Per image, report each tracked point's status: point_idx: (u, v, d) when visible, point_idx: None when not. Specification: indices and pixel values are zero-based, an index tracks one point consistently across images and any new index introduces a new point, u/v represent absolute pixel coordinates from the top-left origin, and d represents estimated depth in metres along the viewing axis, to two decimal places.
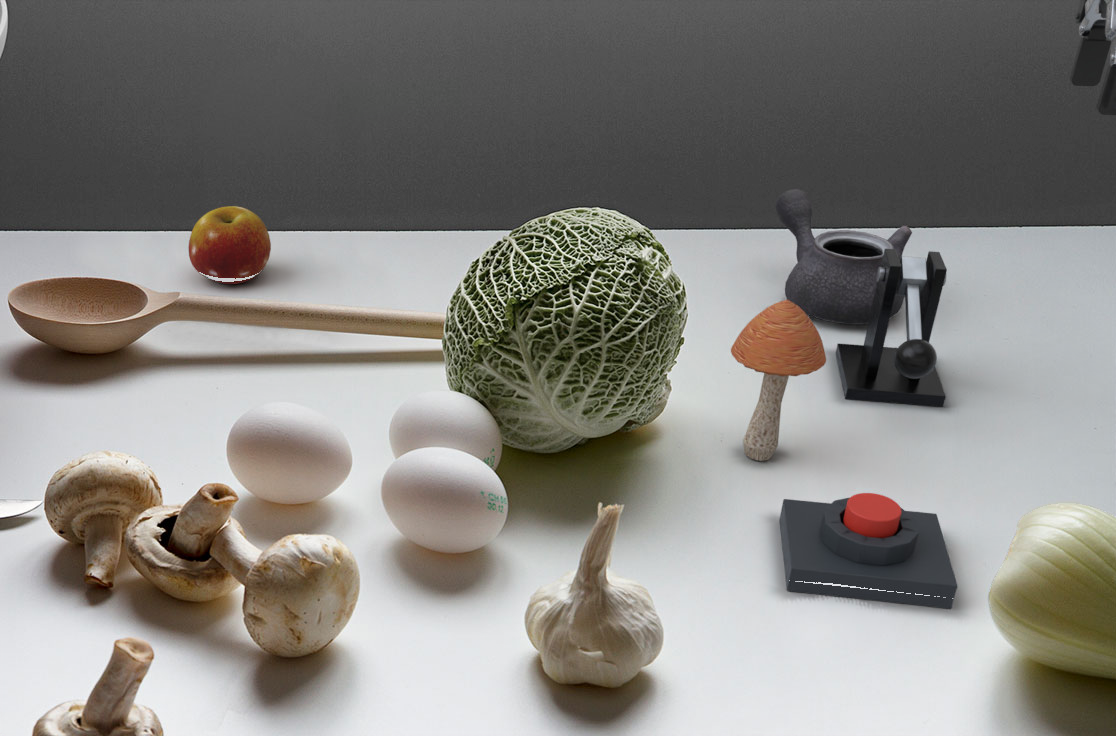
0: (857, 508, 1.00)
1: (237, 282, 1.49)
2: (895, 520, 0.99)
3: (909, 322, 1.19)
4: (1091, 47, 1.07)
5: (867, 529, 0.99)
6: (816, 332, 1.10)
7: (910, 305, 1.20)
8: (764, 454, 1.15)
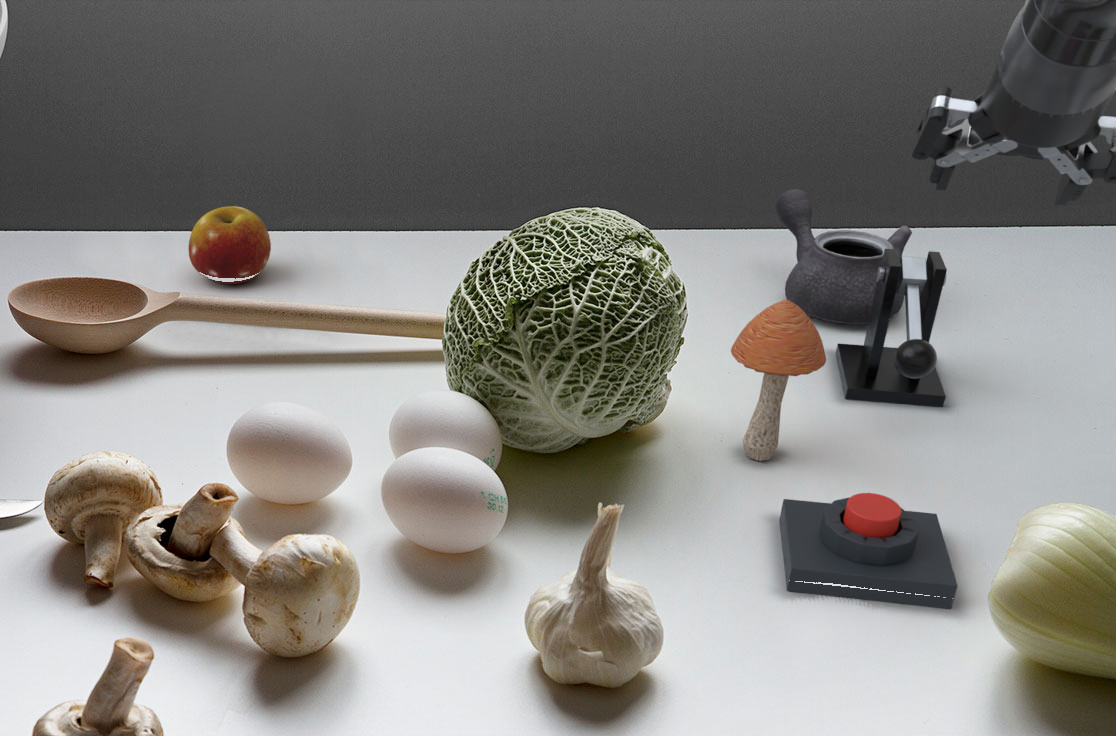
0: (857, 508, 1.00)
1: (237, 282, 1.49)
2: (895, 520, 0.99)
3: (909, 322, 1.19)
4: None
5: (867, 529, 0.99)
6: (816, 332, 1.10)
7: (910, 305, 1.20)
8: (764, 454, 1.15)
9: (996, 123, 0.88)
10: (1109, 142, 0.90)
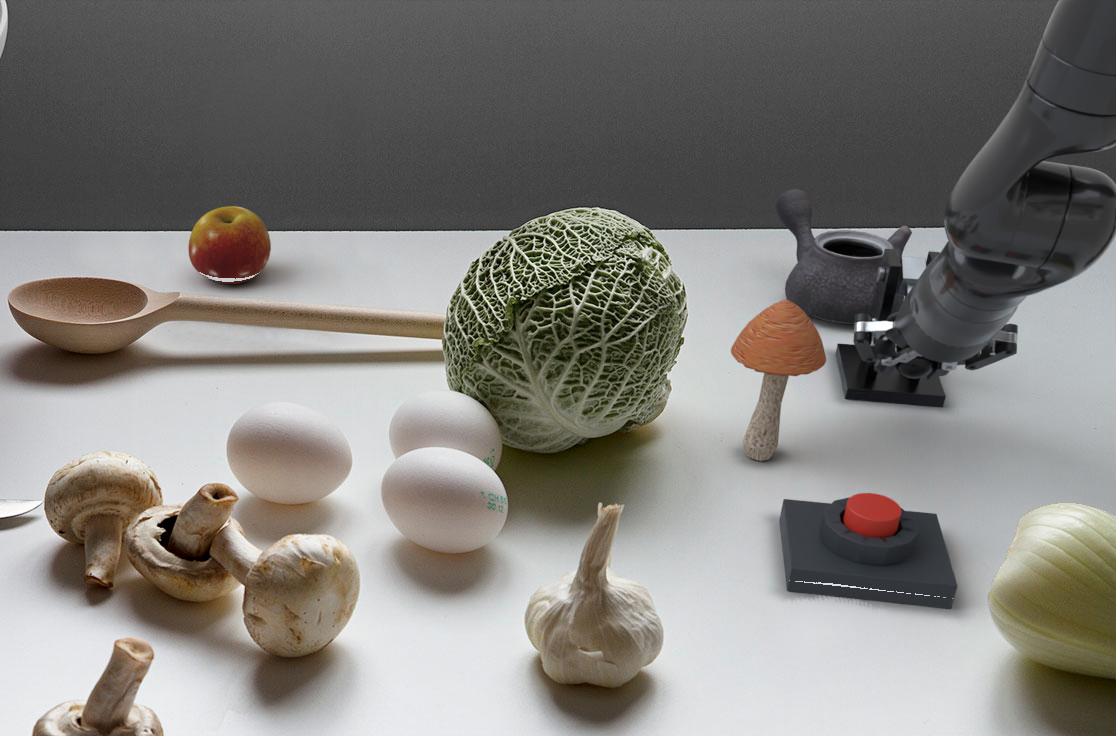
0: (857, 508, 1.00)
1: (237, 282, 1.49)
2: (895, 520, 0.99)
3: None
4: None
5: (867, 529, 0.99)
6: (816, 332, 1.10)
7: None
8: (764, 454, 1.15)
9: (911, 344, 1.08)
10: (987, 346, 1.11)
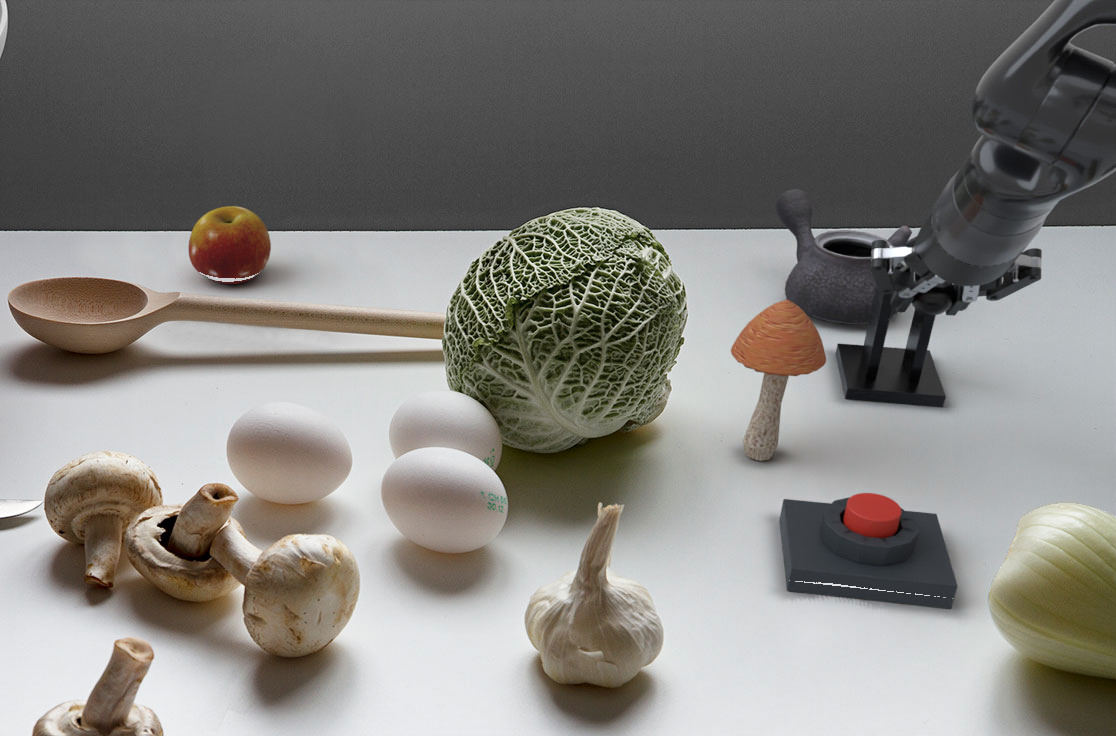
0: (857, 508, 1.00)
1: (237, 282, 1.49)
2: (895, 520, 0.99)
3: None
4: None
5: (867, 529, 0.99)
6: (816, 332, 1.10)
7: None
8: (764, 454, 1.15)
9: (932, 268, 1.03)
10: (1010, 272, 1.07)
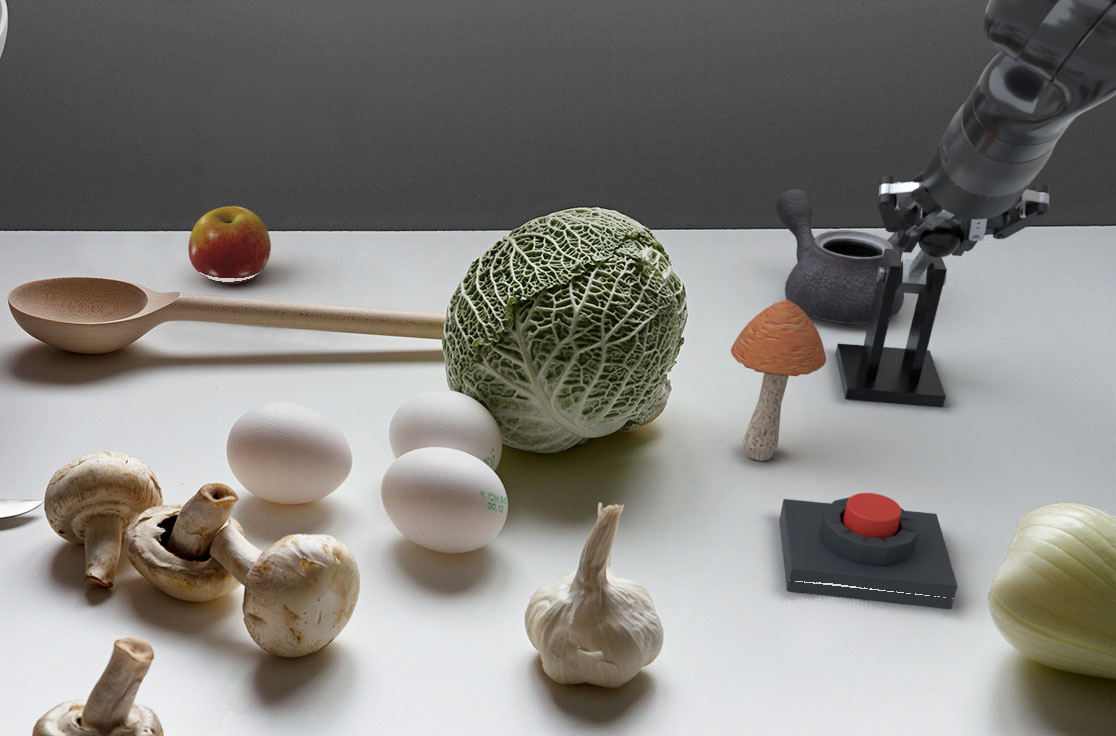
0: (857, 508, 1.00)
1: (237, 282, 1.49)
2: (895, 520, 0.99)
3: None
4: None
5: (867, 529, 0.99)
6: (816, 332, 1.10)
7: None
8: (764, 454, 1.15)
9: (939, 201, 1.03)
10: (1017, 209, 1.07)
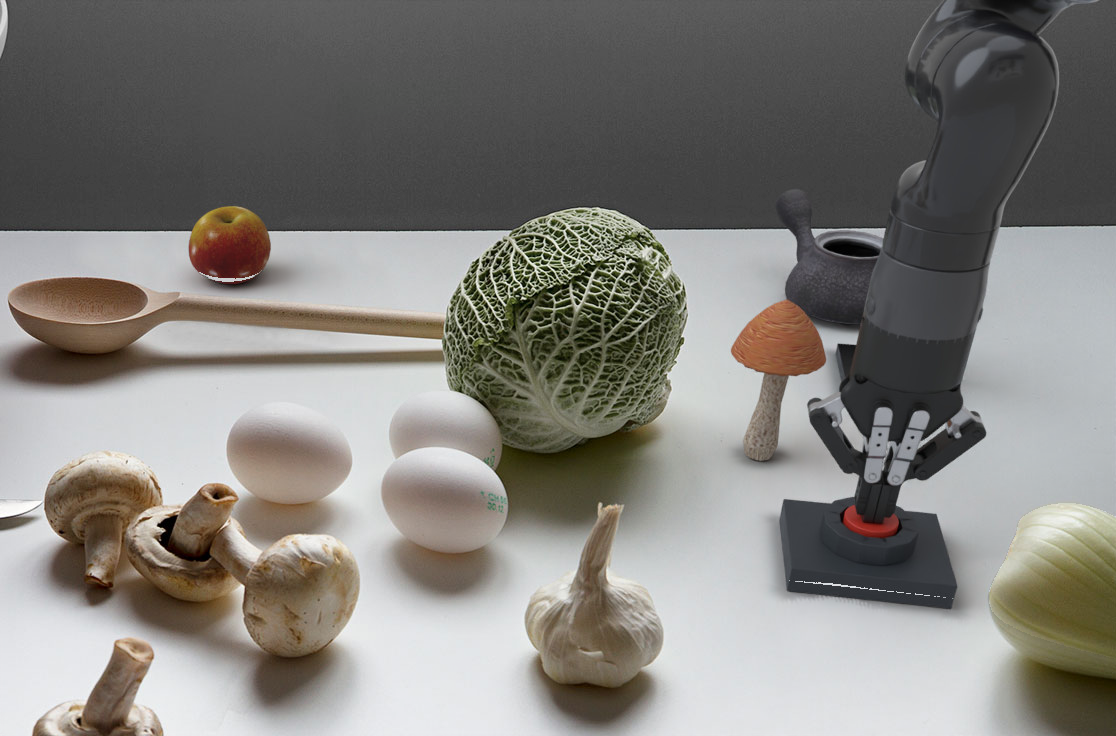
0: (855, 519, 1.00)
1: (237, 282, 1.49)
2: (892, 531, 0.99)
3: None
4: None
5: None
6: (816, 332, 1.10)
7: None
8: (764, 454, 1.15)
9: (873, 374, 0.92)
10: (949, 430, 0.95)
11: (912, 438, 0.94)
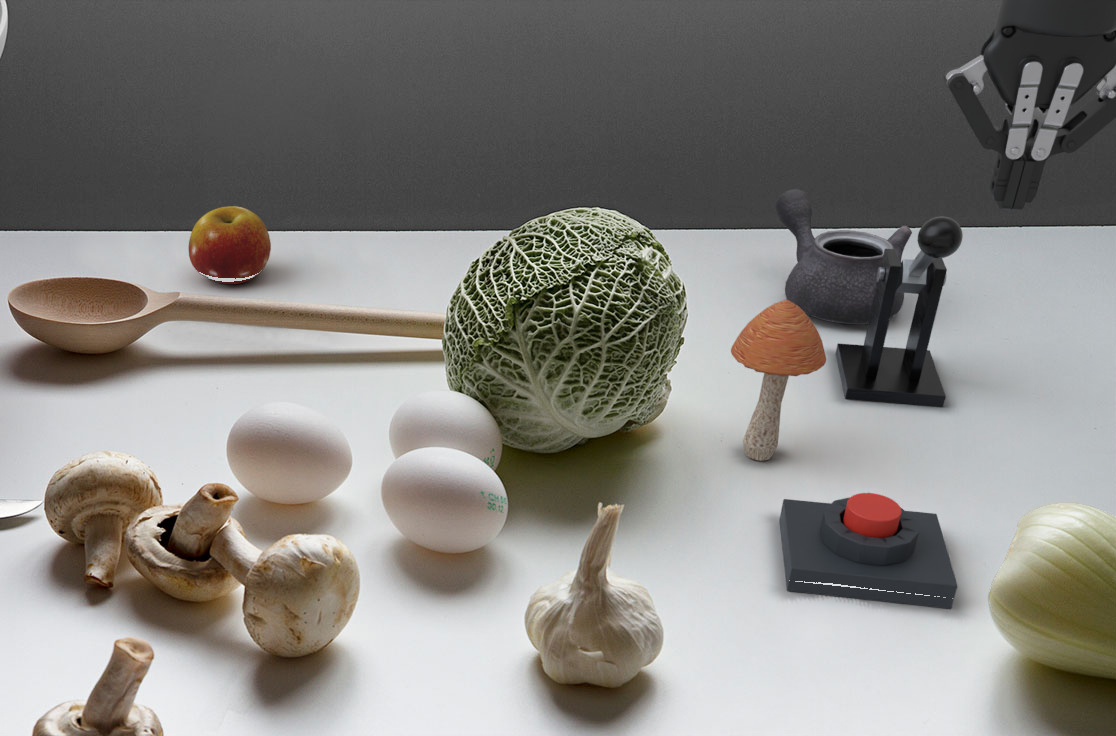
0: (857, 508, 1.00)
1: (237, 282, 1.49)
2: (895, 520, 0.99)
3: None
4: None
5: (867, 529, 0.99)
6: (816, 332, 1.10)
7: None
8: (764, 454, 1.15)
9: (1025, 18, 0.85)
10: (1102, 92, 0.88)
11: (1062, 99, 0.88)
